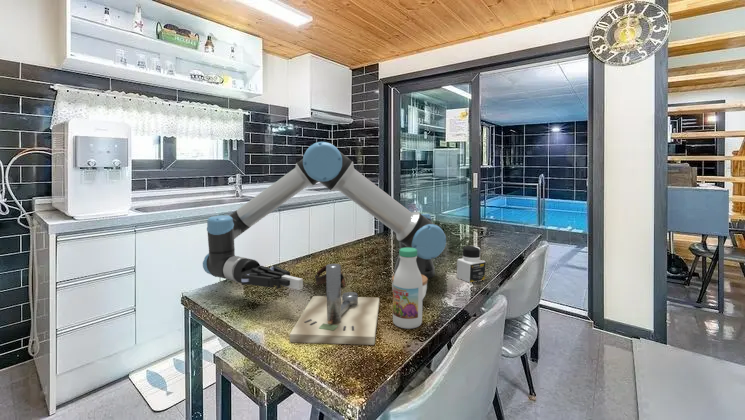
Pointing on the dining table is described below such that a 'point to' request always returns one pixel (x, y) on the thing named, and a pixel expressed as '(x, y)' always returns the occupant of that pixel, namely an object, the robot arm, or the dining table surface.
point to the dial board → (338, 323)
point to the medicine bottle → (471, 265)
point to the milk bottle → (407, 291)
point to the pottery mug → (323, 278)
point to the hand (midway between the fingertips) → (300, 284)
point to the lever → (337, 294)
